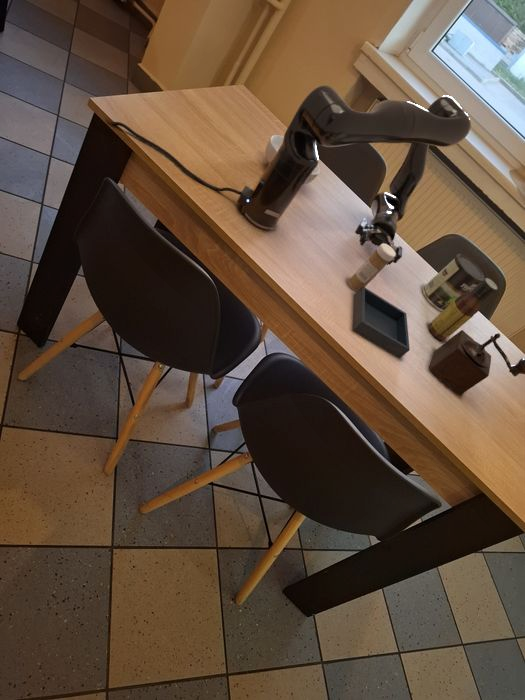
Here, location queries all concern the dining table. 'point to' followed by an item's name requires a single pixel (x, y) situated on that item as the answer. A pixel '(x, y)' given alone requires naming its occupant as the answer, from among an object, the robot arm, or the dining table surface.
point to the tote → (380, 322)
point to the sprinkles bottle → (372, 267)
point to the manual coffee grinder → (467, 362)
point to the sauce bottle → (461, 310)
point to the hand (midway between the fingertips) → (376, 252)
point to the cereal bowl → (274, 147)
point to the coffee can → (452, 282)
